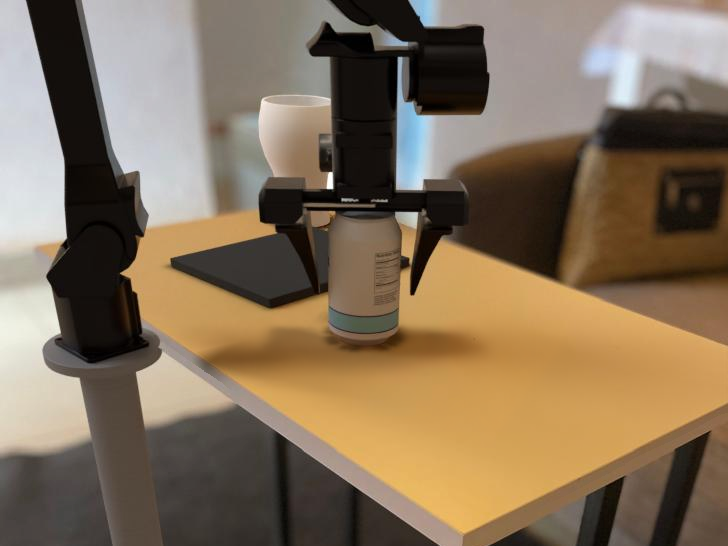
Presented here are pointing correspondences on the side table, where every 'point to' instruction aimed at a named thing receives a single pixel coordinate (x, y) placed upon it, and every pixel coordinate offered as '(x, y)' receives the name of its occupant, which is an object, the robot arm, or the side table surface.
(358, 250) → the beverage can
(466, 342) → the side table surface
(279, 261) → the mat
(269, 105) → the cup
